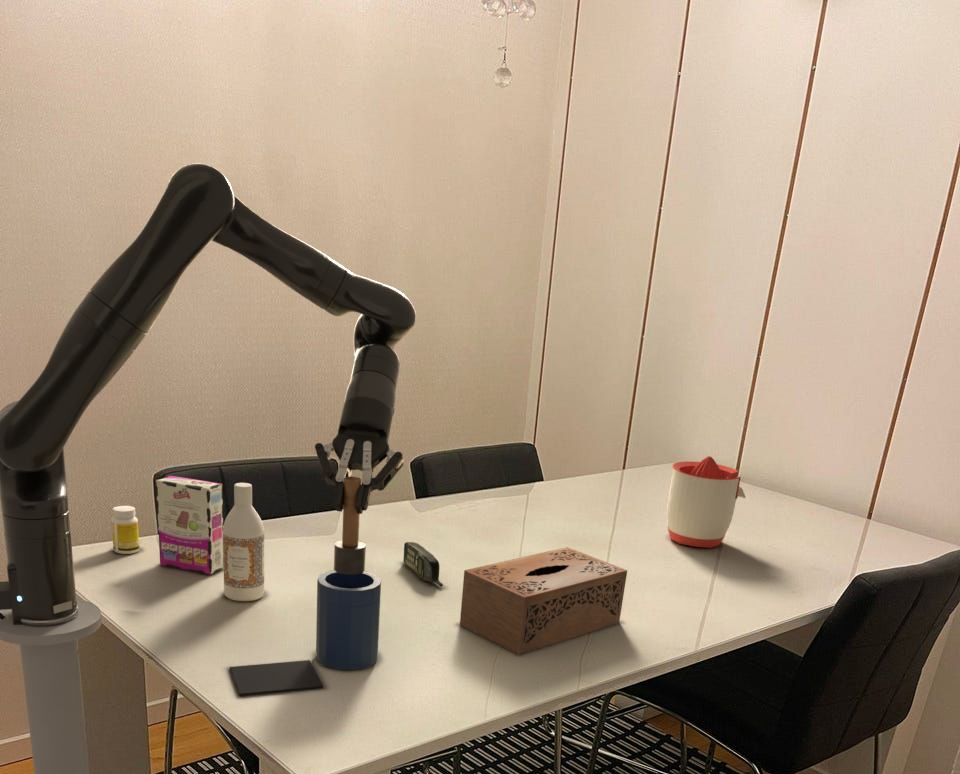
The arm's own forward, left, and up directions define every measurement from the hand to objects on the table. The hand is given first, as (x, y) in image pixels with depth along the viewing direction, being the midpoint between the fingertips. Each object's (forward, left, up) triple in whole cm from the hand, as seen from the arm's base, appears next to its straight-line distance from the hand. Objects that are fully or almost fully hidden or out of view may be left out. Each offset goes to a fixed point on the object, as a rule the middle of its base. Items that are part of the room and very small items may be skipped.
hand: (348, 509), depth 139 cm
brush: (+1, +2, -10) cm, 10 cm away
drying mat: (-11, -3, -25) cm, 27 cm away
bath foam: (-10, +31, -25) cm, 41 cm away
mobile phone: (+25, +36, -25) cm, 50 cm away
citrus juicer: (+97, +48, -25) cm, 111 cm away
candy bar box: (-17, +47, -25) cm, 56 cm away
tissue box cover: (+38, +9, -25) cm, 46 cm away
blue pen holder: (+1, +2, -25) cm, 25 cm away
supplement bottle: (-28, +58, -25) cm, 69 cm away
